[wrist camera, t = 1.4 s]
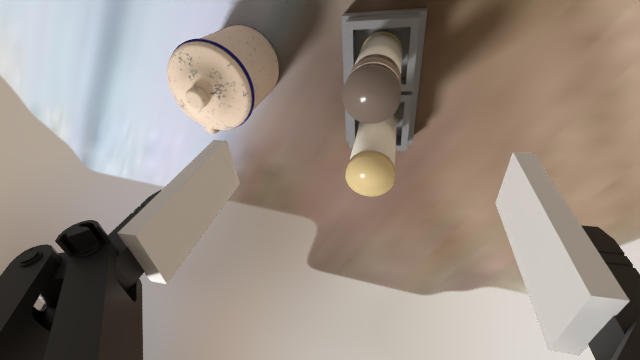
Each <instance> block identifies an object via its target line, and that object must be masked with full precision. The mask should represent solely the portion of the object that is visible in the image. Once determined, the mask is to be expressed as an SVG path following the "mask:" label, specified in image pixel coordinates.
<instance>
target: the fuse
mask: <svg viewBox="0 0 640 360" xmlns="http://www.w3.org/2000/svg"><path fill="white" fill-rule="evenodd" d="M397 121H398V113H397V110H396V112H395V113H394V114H393V115H392V116H391V117H390V118H388V119H387V120H385V121H383V122H380V123H376V124H366V123H362V122H360V124H359V128H358V131H357V135H356V139H355V142H354V146H353V150H352V154H351V157H350V161H349V163H348V166H347V170H346V181H347V183H348V185H349V186H350V187H351V188H352V189H353V190H354V191H355V192H357V193H359V194H361V195H365V196H379V195H382V194H384V193H386V192H387V191H389V190H390V189H391V187H392V186H393V184H394V180H395V151H396V132H397Z"/></svg>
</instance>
